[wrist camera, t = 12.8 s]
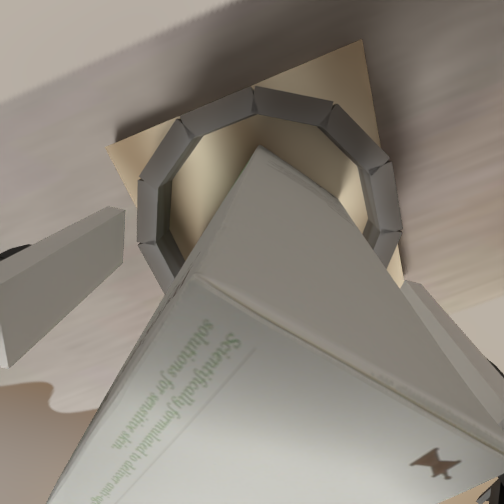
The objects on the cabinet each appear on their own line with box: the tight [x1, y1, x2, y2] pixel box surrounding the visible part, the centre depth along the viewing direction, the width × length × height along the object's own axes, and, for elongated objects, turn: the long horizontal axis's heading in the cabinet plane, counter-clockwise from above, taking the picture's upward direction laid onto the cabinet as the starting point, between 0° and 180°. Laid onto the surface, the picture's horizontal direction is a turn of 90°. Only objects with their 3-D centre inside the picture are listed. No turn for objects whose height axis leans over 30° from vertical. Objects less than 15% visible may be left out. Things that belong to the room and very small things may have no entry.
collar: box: [105, 39, 404, 294], centre depth 19 cm, size 16×16×4 cm
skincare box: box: [46, 145, 504, 504], centre depth 13 cm, size 8×7×16 cm
